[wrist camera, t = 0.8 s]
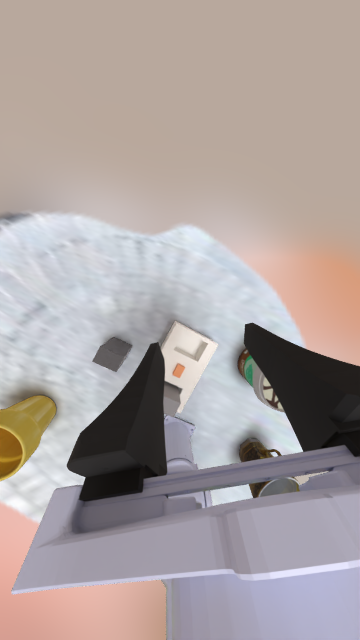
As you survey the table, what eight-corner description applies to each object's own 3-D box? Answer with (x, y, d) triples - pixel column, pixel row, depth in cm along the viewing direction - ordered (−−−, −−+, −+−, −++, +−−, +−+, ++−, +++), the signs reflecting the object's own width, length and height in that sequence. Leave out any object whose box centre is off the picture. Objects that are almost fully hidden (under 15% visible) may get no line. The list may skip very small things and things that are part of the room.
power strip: (178, 401, 35) (180, 416, 30) (140, 384, 33) (136, 398, 29) (212, 339, 34) (219, 345, 29) (175, 320, 33) (176, 323, 28)
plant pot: (76, 411, 32) (39, 457, 23) (37, 439, 32) (-17, 496, 23) (44, 377, 31) (-11, 410, 21) (3, 405, 31) (-71, 452, 21)
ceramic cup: (264, 465, 40) (297, 518, 30) (230, 466, 39) (253, 522, 29) (272, 422, 38) (309, 462, 29) (237, 421, 37) (263, 464, 27)
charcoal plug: (171, 393, 33) (173, 417, 26) (154, 386, 33) (151, 408, 26) (177, 382, 33) (180, 403, 26) (160, 375, 33) (159, 394, 26)
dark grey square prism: (126, 357, 32) (116, 371, 25) (108, 348, 32) (92, 361, 25) (132, 345, 32) (123, 357, 25) (114, 337, 32) (100, 346, 25)
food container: (227, 347, 35) (252, 365, 25) (250, 339, 35) (284, 353, 25) (240, 392, 36) (268, 424, 27) (262, 383, 37) (297, 412, 27)
